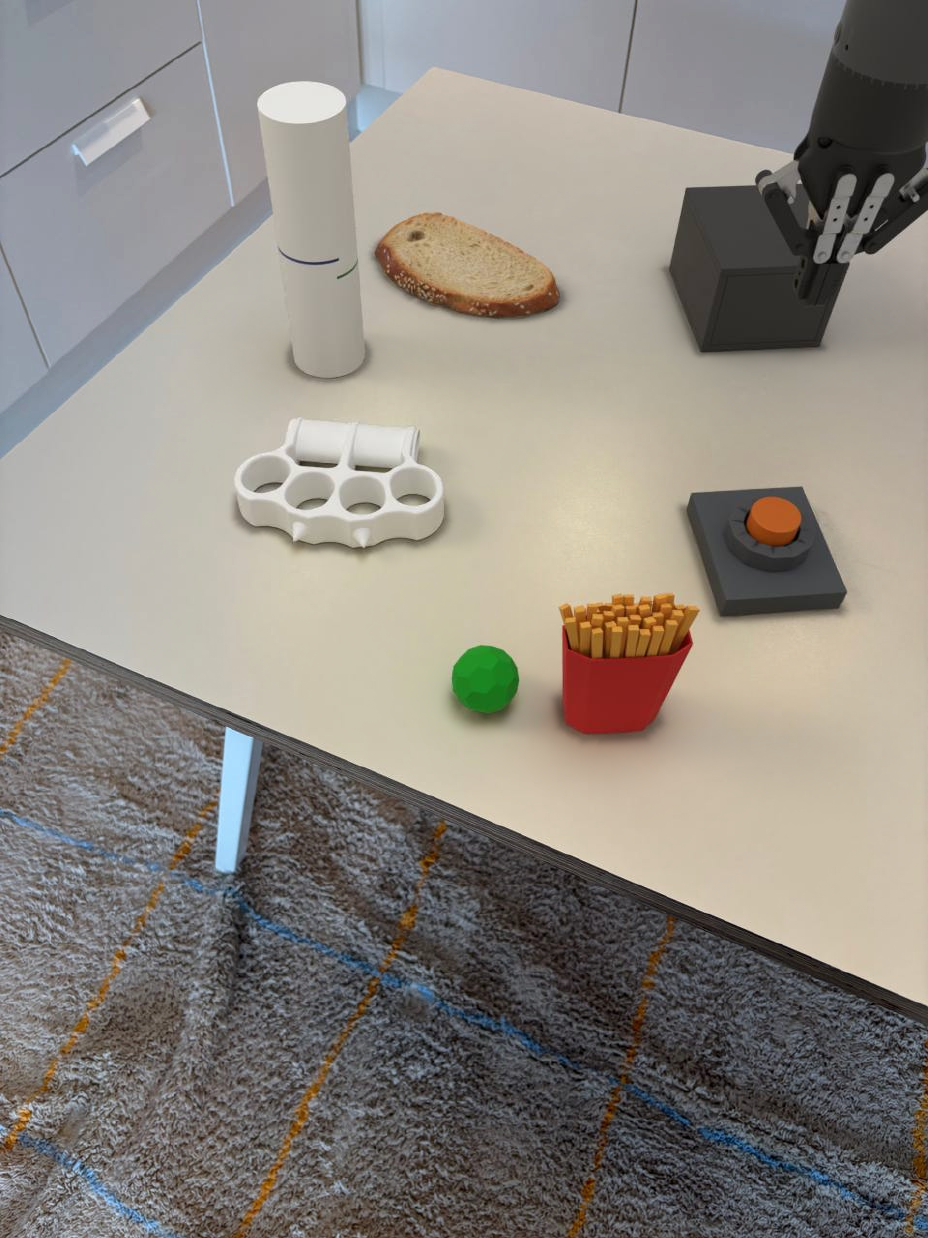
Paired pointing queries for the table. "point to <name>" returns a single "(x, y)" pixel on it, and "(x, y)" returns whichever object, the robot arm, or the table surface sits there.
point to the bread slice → (465, 268)
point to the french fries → (622, 660)
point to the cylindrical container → (314, 223)
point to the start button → (773, 521)
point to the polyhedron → (485, 679)
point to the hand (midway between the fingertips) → (809, 299)
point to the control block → (763, 556)
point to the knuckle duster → (342, 484)
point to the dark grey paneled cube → (742, 272)
